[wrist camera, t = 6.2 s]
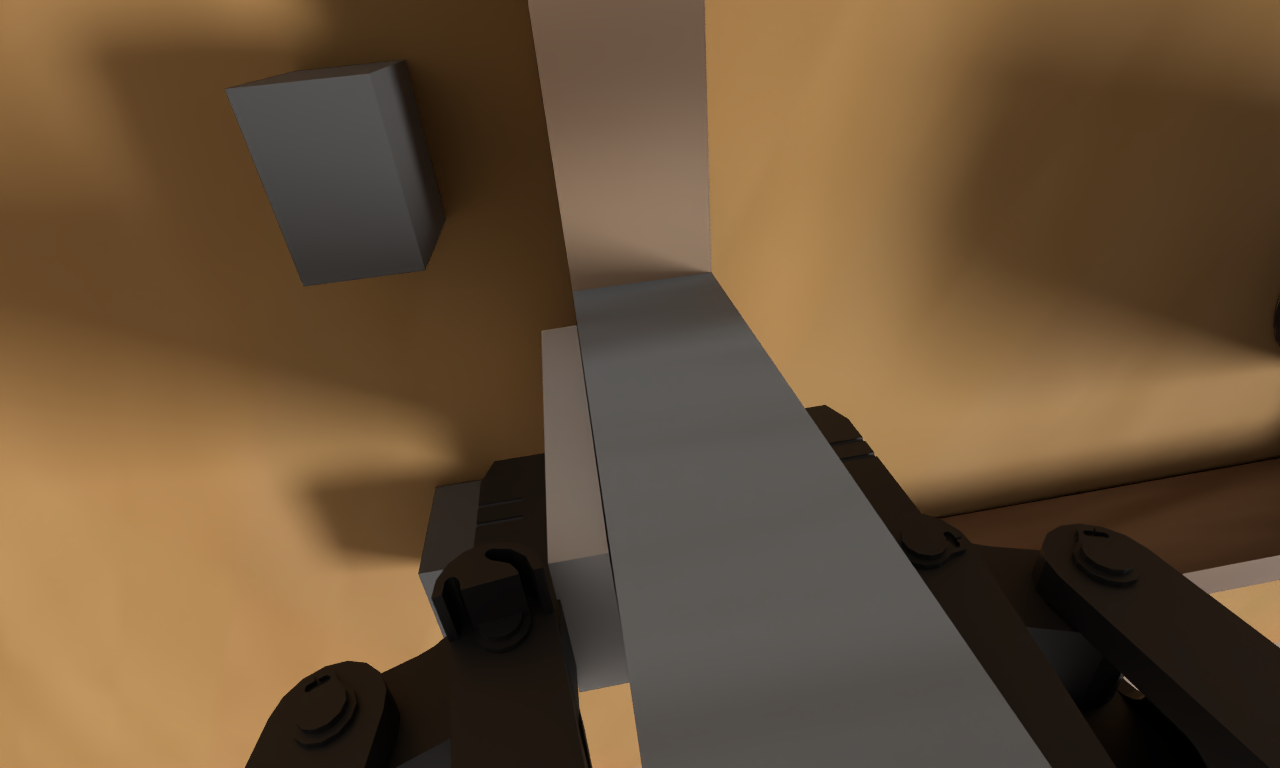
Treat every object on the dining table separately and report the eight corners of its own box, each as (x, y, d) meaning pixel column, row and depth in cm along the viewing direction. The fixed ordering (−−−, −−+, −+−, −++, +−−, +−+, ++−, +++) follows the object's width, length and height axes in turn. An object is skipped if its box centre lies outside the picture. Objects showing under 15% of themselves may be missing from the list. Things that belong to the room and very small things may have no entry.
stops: (293, 70, 11) (224, 89, 9) (405, 59, 11) (369, 73, 9) (462, 564, 18) (450, 655, 16) (530, 553, 18) (530, 640, 16)
